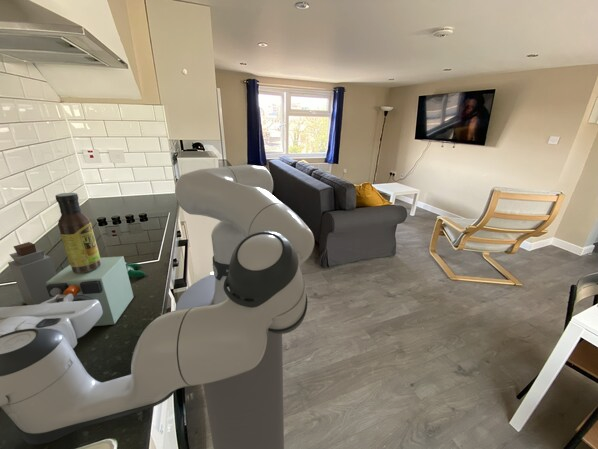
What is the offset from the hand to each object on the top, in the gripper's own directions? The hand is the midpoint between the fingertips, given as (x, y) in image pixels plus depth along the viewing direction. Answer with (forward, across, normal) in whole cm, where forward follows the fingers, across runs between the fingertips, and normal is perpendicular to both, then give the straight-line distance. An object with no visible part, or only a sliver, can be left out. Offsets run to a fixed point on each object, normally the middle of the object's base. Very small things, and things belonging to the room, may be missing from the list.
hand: (66, 296), depth 60 cm
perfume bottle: (+18, -20, -12) cm, 29 cm away
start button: (+2, 0, -1) cm, 2 cm away
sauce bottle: (+10, 0, +2) cm, 10 cm away
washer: (+10, 0, -12) cm, 15 cm away
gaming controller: (+30, 0, -12) cm, 32 cm away
